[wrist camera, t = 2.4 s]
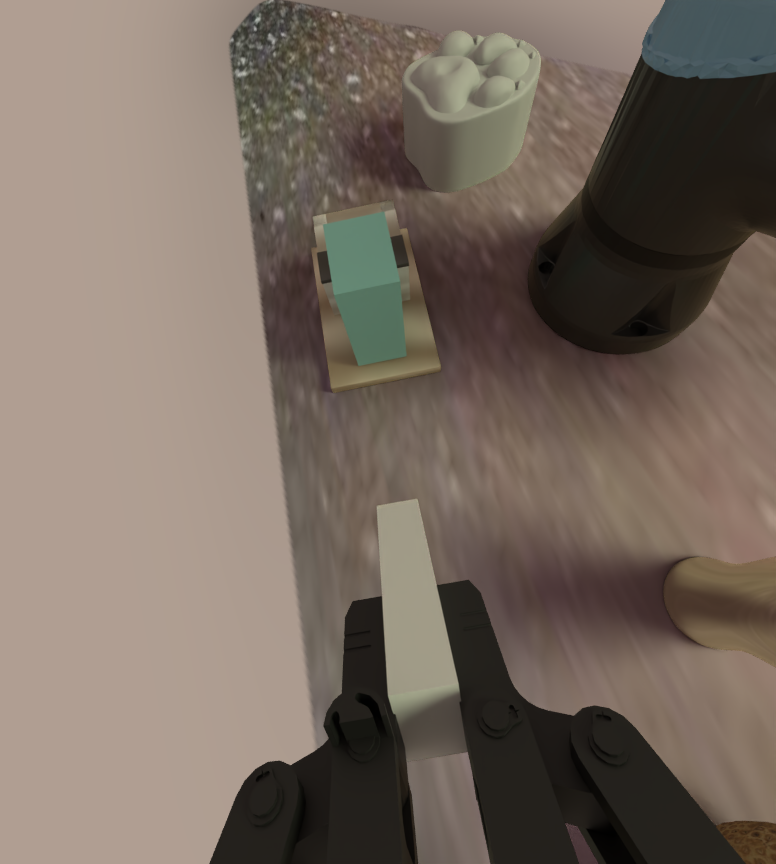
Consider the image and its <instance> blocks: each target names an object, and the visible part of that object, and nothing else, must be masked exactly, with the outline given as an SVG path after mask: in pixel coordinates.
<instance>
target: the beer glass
mask: <svg viewBox="0 0 776 864" xmlns="http://www.w3.org/2000/svg"><path fill="white" fill-rule="evenodd" d="M663 597H664V602H665V606H666V609H667V612H668V614H669V616H670V618H671V619H672V621H673V622H674V624H675V625H676V626H677V627H678V628H679V630H680V631H681V632H683V633H684V634H685V635H686V636H687V637H689V638H690V639H692V640H693V641H695V642H697V643H698V644H701V645H703V646H706V647H709V648H713V649H719V650H735V651H743V652H746V653H749V654H751V655H753V656H755V657H757V658H759V659H761V660H763V661H765V662H766V663H768V664H770V665H772V666H774V667H776V556H775V557H770V558H766V559H761V560H757V561H753V562H747V563H742V564H732V563H728V562H724V561H721V560H717V559H712V558H707V557H693V558H688V559H685V560H683V561H681V562H679V563H677V564H676V565H675V566H674V567H673V568H672V569H671V570H670V571H669V573H668V574H667V576H666V579H665V582H664V587H663Z"/></svg>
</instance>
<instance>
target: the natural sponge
mask: <svg viewBox="0 0 776 864" xmlns="http://www.w3.org/2000/svg"><path fill="white" fill-rule="evenodd" d="M716 827H717V829H718V830H719V831H720V832H721V834H722V835H723V836H724V837H725V839H726V840H727V841H728V842H729V843H730V845H731V846H732V847H733V848H734V850H735V851H736V852H737V853H738V855H739V856H740V857H741V858H742V859H743V861H744V862H745V863H746V864H776V824H774V823H769V822H754V821H734V822H727V823H722V824H720V825H717V826H716Z"/></svg>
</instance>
